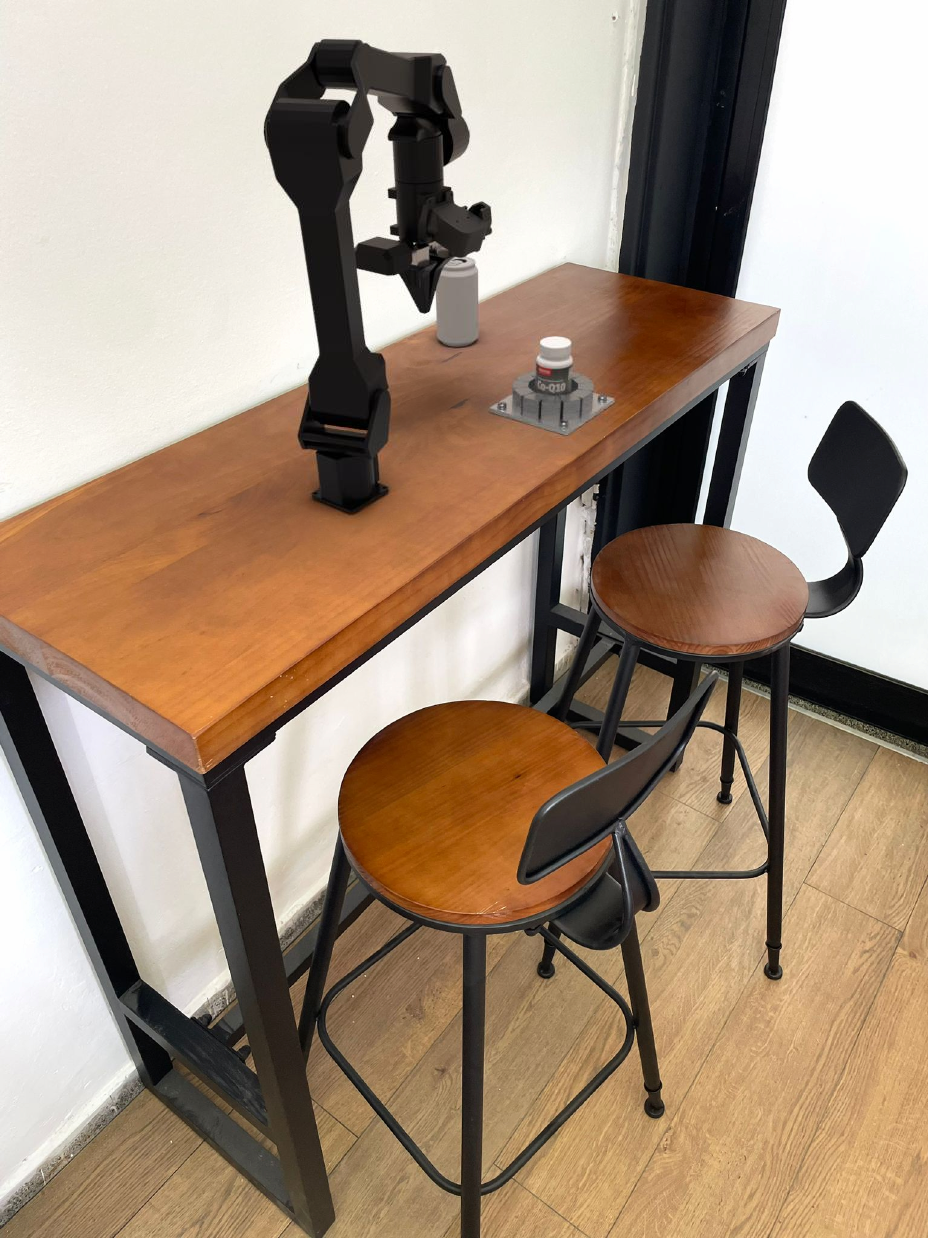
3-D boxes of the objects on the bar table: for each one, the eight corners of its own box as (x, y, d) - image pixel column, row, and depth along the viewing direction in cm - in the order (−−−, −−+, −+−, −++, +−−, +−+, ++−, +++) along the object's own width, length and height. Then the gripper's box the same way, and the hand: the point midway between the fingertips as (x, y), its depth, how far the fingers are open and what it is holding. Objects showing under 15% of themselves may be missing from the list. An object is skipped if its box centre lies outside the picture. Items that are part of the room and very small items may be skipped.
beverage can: (486, 337, 143) (486, 258, 136) (464, 351, 139) (462, 269, 132) (451, 330, 146) (450, 251, 139) (429, 343, 142) (426, 263, 135)
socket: (566, 435, 116) (567, 412, 114) (489, 411, 122) (489, 389, 120) (614, 402, 124) (616, 380, 122) (539, 381, 130) (540, 360, 128)
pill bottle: (532, 409, 121) (534, 347, 116) (536, 394, 125) (539, 334, 120) (568, 412, 120) (571, 349, 115) (572, 397, 124) (575, 336, 119)
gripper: (422, 205, 97) (427, 349, 107) (522, 171, 109) (519, 304, 118) (344, 191, 103) (356, 329, 112) (447, 160, 114) (450, 288, 124)
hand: (424, 312), depth 116 cm, fingers closed
